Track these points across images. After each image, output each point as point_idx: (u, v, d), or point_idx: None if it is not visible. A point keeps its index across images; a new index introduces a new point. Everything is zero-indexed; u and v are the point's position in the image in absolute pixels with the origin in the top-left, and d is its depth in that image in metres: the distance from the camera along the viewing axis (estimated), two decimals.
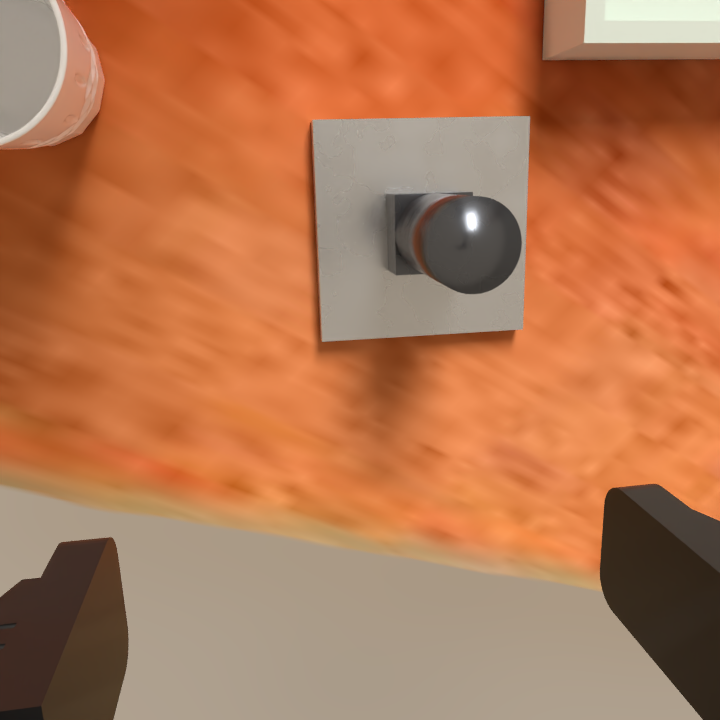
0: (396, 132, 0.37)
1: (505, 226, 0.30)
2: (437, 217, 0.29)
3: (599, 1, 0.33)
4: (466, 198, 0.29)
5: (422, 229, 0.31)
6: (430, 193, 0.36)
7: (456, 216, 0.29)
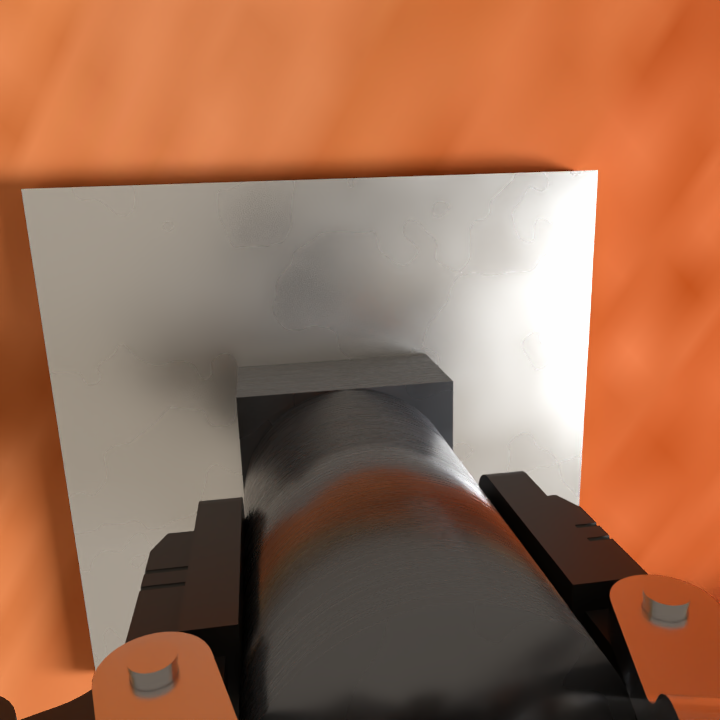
0: (558, 369, 0.16)
1: None
2: (569, 628, 0.07)
3: None
4: None
5: (469, 533, 0.08)
6: None
7: (568, 698, 0.07)
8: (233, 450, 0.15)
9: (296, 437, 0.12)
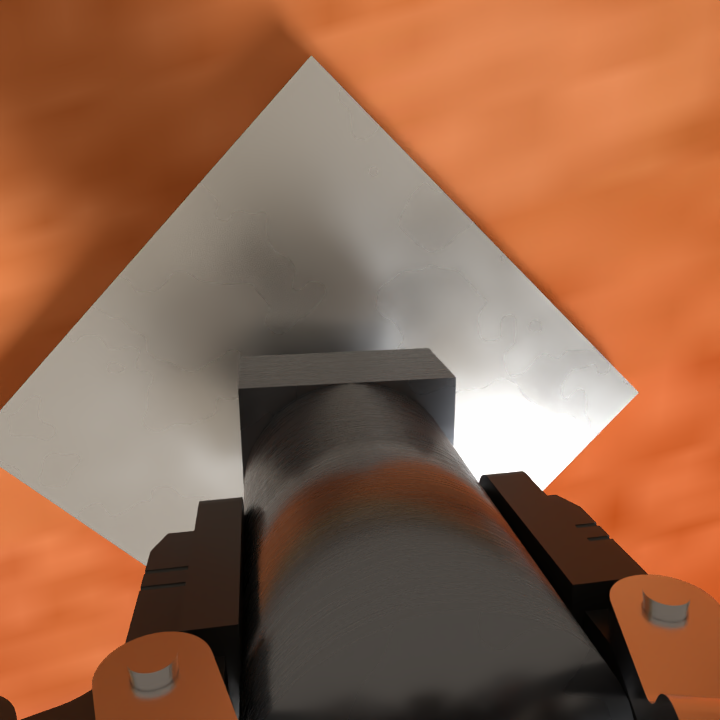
0: None
1: None
2: (573, 637, 0.07)
3: None
4: None
5: (473, 537, 0.08)
6: None
7: (569, 705, 0.07)
8: (261, 353, 0.17)
9: (298, 431, 0.12)
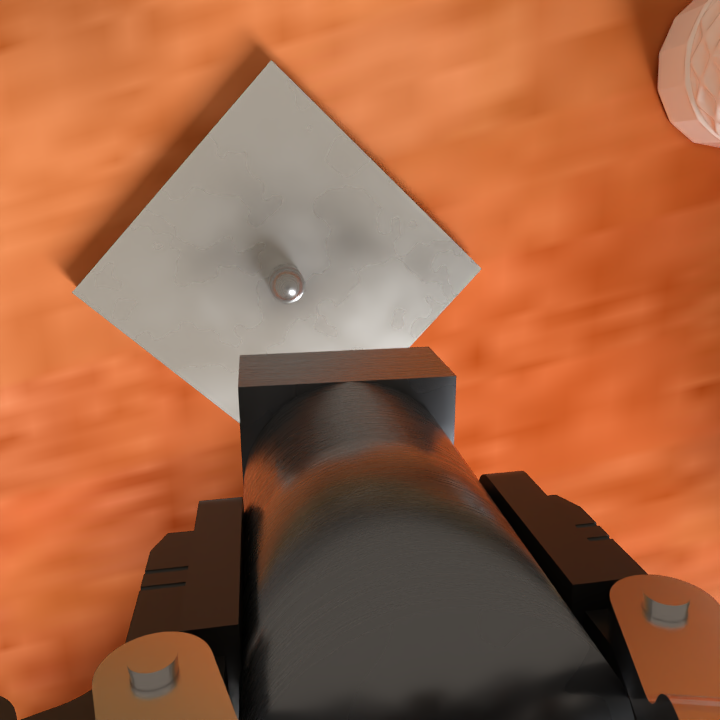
0: (399, 334, 0.30)
1: None
2: (573, 634, 0.07)
3: None
4: None
5: (473, 534, 0.08)
6: None
7: (569, 703, 0.07)
8: (244, 238, 0.28)
9: (298, 429, 0.12)
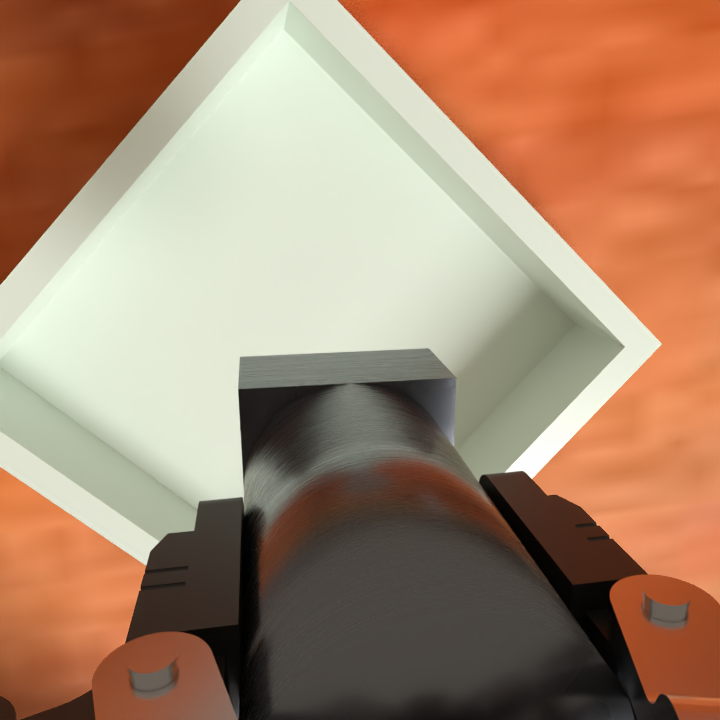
0: None
1: None
2: (574, 638, 0.07)
3: (317, 13, 0.20)
4: None
5: (474, 537, 0.08)
6: None
7: (570, 706, 0.07)
8: None
9: (298, 431, 0.12)
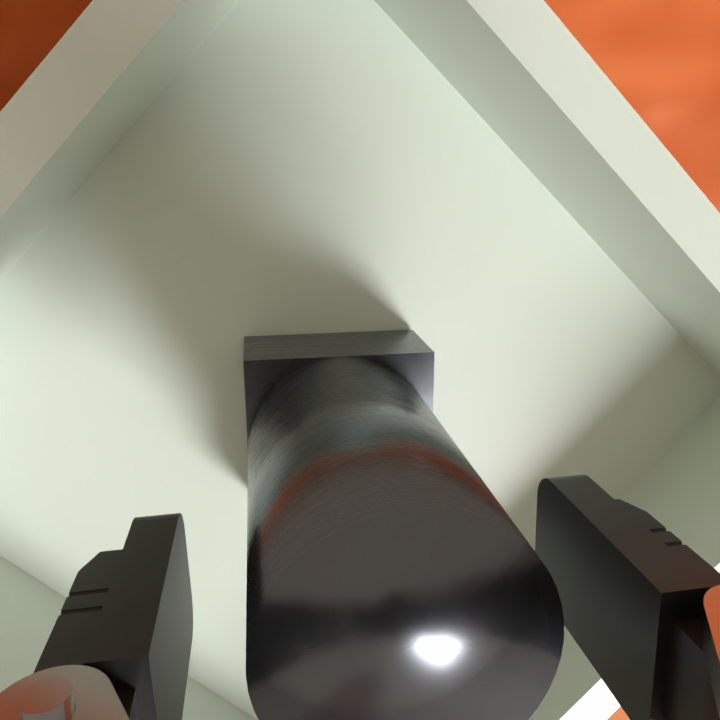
0: None
1: None
2: (511, 532, 0.09)
3: None
4: (559, 611, 0.09)
5: (436, 464, 0.10)
6: None
7: (509, 589, 0.09)
8: None
9: (295, 394, 0.13)
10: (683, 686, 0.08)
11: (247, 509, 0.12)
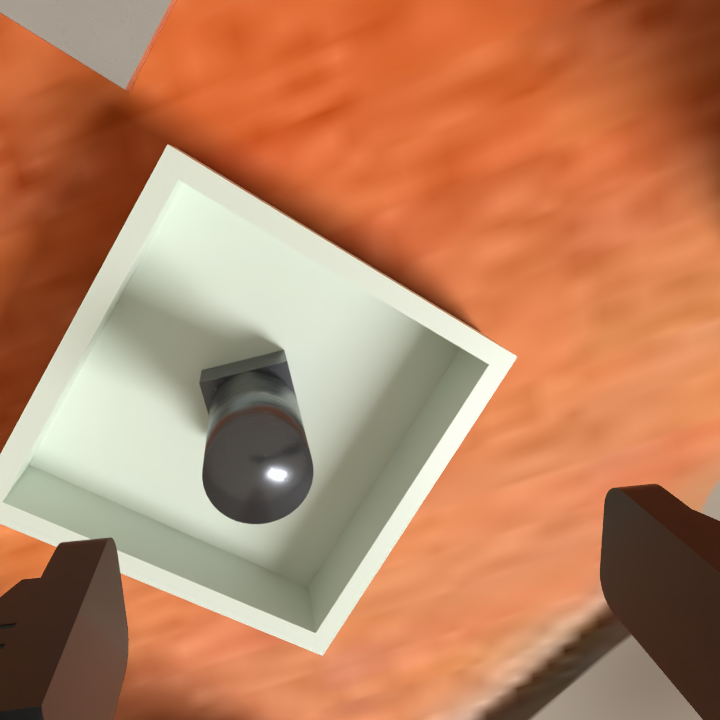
0: None
1: (287, 499, 0.27)
2: (280, 426, 0.26)
3: (201, 183, 0.28)
4: (307, 450, 0.26)
5: (262, 409, 0.27)
6: (296, 398, 0.33)
7: (286, 445, 0.26)
8: None
9: (221, 393, 0.31)
10: None
11: None
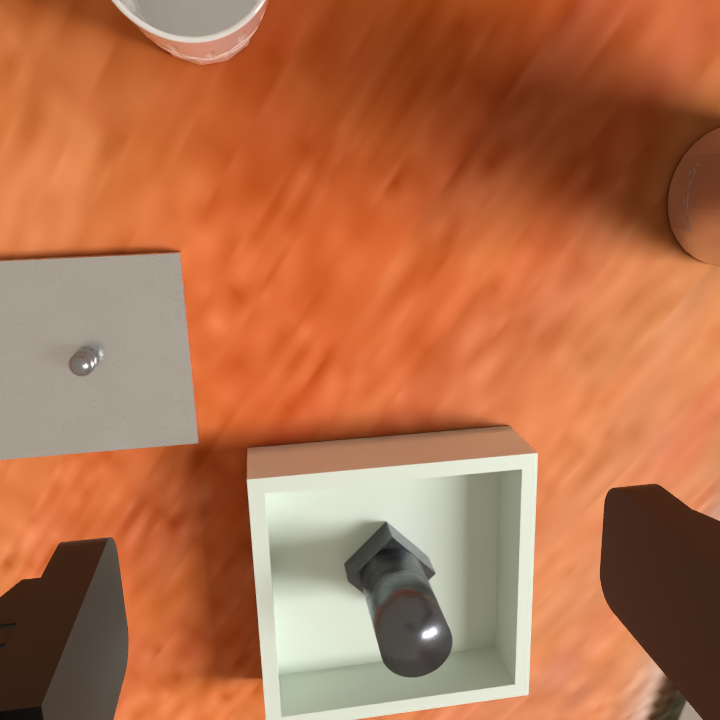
0: (174, 328, 0.41)
1: (442, 648, 0.39)
2: (412, 614, 0.38)
3: (278, 487, 0.41)
4: (436, 617, 0.39)
5: (395, 603, 0.40)
6: (412, 553, 0.45)
7: (422, 622, 0.39)
8: (45, 358, 0.41)
9: (365, 586, 0.44)
10: None
11: None
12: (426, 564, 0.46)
